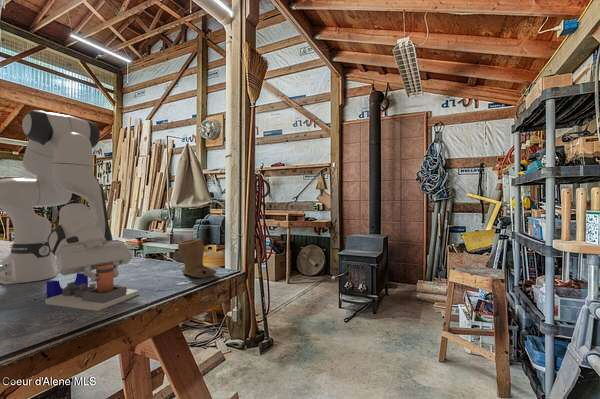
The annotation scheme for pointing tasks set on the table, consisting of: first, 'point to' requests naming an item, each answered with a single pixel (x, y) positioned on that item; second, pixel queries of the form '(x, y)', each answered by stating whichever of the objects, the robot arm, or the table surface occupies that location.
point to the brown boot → (194, 258)
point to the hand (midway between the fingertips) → (106, 278)
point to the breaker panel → (90, 297)
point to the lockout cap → (105, 278)
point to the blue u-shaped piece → (56, 289)
